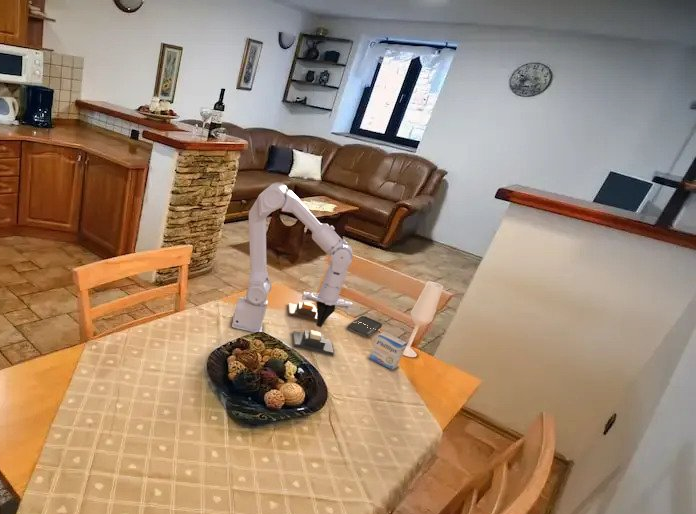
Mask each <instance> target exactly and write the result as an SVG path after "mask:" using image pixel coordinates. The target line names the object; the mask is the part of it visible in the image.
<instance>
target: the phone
mask: <svg viewBox="0 0 696 514" xmlns="http://www.w3.org/2000/svg"><path fill="white" fill-rule="evenodd" d="M356 321H357V323H353V322H356ZM358 321H359V322H362V323H359V322H358ZM358 323H359V324H358ZM363 323H364V324H366V325H364V324H363ZM367 325H368V326H367ZM382 326H383V324H382V323H381V322H379V321H377V320H375V319H372V318H370V317H368V316H365V315H361V316H359V317H358V318H356V319H355V320H354V321H352V322H350V323H349V324H347V327H346V329H347V330H348V331H350V332H353V333H356V334H357V335H359V336H362V337H364V338H369V337H371V336H372V335H373V334H375V333H377V331H378V330H380V329H381V328H382ZM367 327H368V328H367ZM370 328H371V329H370ZM373 328H374V329H373ZM375 329H376V330H375Z"/></svg>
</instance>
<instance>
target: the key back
mask: <svg viewBox="0 0 696 514" xmlns="http://www.w3.org/2000/svg"><path fill="white" fill-rule="evenodd" d="M302 303H303V308H305V309H310V310H312V309H313V305H314V303H313V302H310V301H306V300H303V302H302Z"/></svg>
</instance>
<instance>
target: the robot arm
mask: <svg viewBox="0 0 696 514" xmlns="http://www.w3.org/2000/svg"><path fill="white" fill-rule="evenodd" d="M279 209H281V212H284V213H292V214H293V215H294V216H295V217H296V218H297V219H298V220H299V221H300V222H301V223H302V224H303V225H304V226H305V227H306V228H307V229H308V230H309V231H311V239H312V241H314V242H315V244H317V246H318V247H320V249H321V250H322V251H323V252H324V253H325V254H326V255H328V256H330V261H329V264H328V266H327V267H326V271H325V273H324V276H323V279H322V282H321V286H320V289H319V292H309V291H302V295H301V300H302V301H309V302H310V301H311V302H315V304H316V309H317V322H315V324H316V325H315V326H316V327H318V328H322V326H323V324H325V322H326V320H327V319H328V318H329V317H330V316H332V314H333V313H334V312H335V310H336V307H337V308H341V309H346V310H347V311H351V310H352V307H353V302H352V301H348V300H346V299H342V298H340V294H341V291H342V289H343V285H344V283H345V281H346V280H345V279H346V277H347V274H348V270H349V266H350V265H351V264H352V263H353V253H354V252H353V248H352V246H351V245H350V243H349V242H347V240H346V239H345V238H343V239H342V238H341V237H340V235H339V234H337V232H336V231H335V230H336V228H335V227H334V225H329V224H328V223H321V222H320V220H318V219H317V217H316V216H315V215H314V214H313V213H312V212H311V211H310V209H309V208H308V207H307V205H305V204H304V202H303V201H302V200H301V199H300V198H299V197H298V196H297V195H296V194H295V193H294V192H293V190H291V189H289V188H288V187H287V185H285V184H284V183H282V182H279V181H278V182H277V181H276V182H273V183H271V184H270V185H269V186H268V187H267V188H265V189H264V190H263V191H262V192H261V193H260V194H259V195H258V196H257V198H256V200H255V202H254V203H253V205H252V207H251V208H250V209H249V211H248V237H249V240H248V241H249V269H250V270H249V271H250V273H249V279H248V287H247V290H246V293H245V296H238V297H237V302H236V307H235V310H234V313H233V314H232V324H231V328H233V329H234V328H235V329H237V330H241V331H247V332H250V333H251V332H252V333H255V334H257V333H256V332H262V333H263V323H264V322H263V321H264V318H265V315H266V311H267V308H268V304H269V301H268V295H269V293H270V292H271V291H272V283H271V280H270V279H269V272H268V269H267V268H268V267H267V263H268V262H267V217H268V216H269V215H270V214H271V213H272V212H275V211H277V210H279Z"/></svg>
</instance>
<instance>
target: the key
mask: <svg viewBox="0 0 696 514" xmlns="http://www.w3.org/2000/svg"><path fill="white" fill-rule="evenodd" d="M309 331H310V333H309V336H310V338H312V339H316V340H321V334H322V332H321V331H317V330H313V329H310V330H309Z"/></svg>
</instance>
